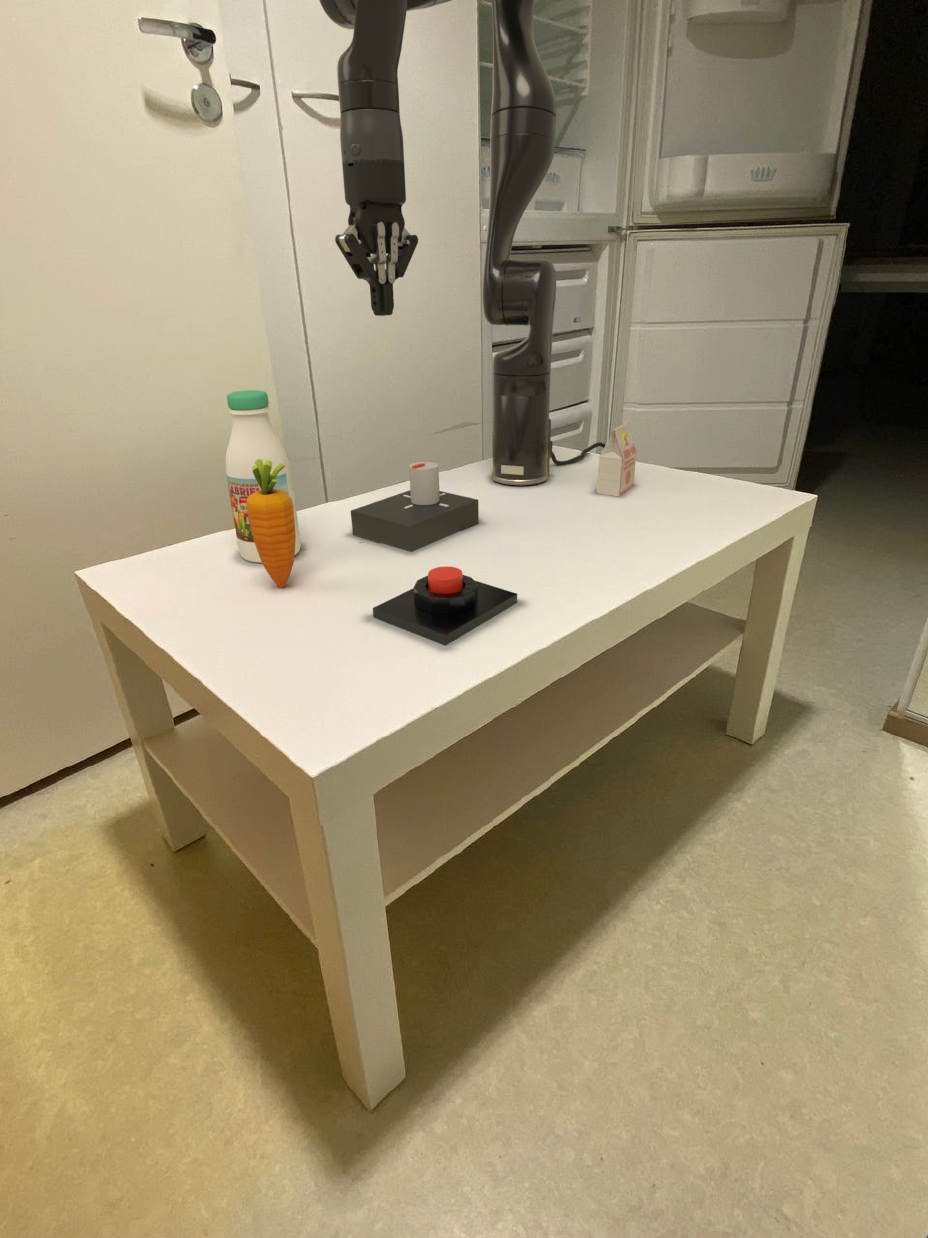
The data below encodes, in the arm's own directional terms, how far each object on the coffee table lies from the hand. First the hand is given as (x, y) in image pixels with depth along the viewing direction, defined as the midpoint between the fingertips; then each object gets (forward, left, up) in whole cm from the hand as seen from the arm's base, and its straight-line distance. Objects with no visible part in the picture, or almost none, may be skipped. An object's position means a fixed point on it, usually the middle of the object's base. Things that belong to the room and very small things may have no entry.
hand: (383, 315), depth 93 cm
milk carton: (-29, +21, -27) cm, 45 cm away
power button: (+21, +28, -24) cm, 43 cm away
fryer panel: (+4, +8, -27) cm, 28 cm away
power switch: (+21, +28, -27) cm, 44 cm away
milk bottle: (+22, -1, -27) cm, 35 cm away
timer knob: (+2, +8, -23) cm, 25 cm away
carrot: (+28, +9, -27) cm, 40 cm away
